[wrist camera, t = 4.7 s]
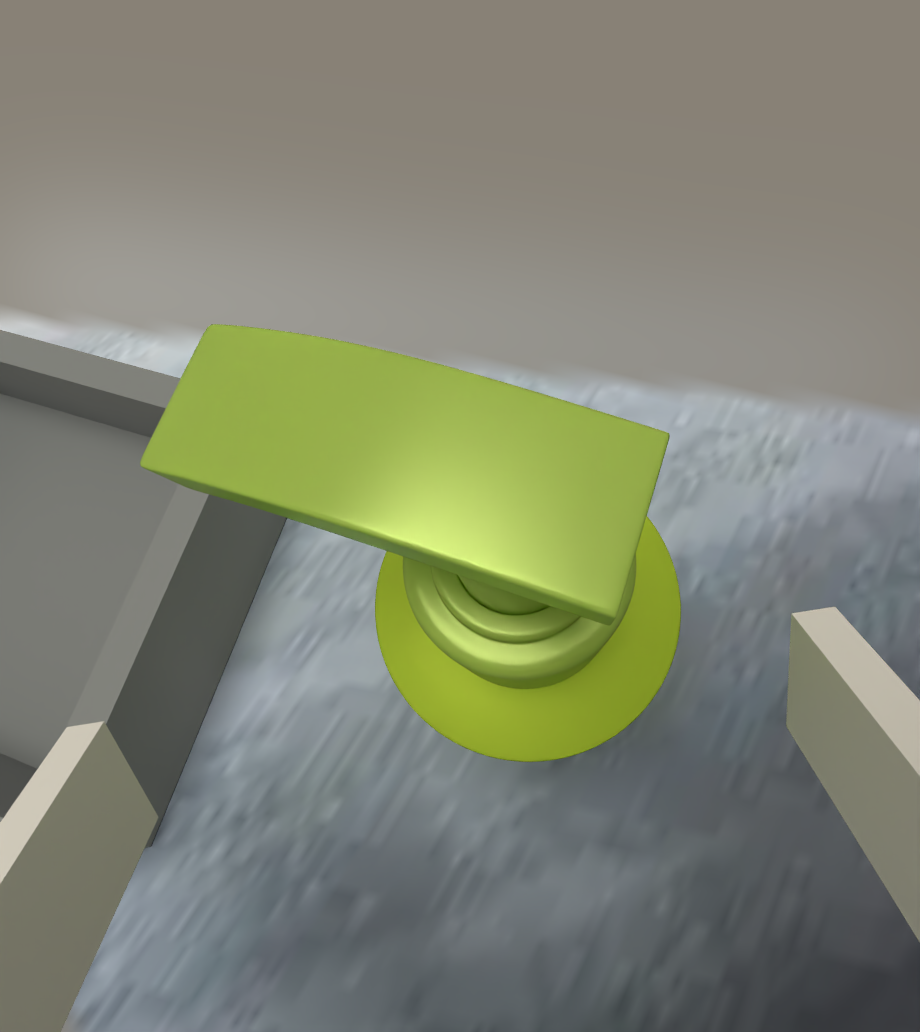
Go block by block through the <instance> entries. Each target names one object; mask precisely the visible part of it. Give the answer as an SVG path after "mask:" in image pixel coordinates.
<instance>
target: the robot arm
mask: <svg viewBox="0 0 920 1032" xmlns="http://www.w3.org/2000/svg"><path fill="white" fill-rule="evenodd" d="M786 726H787V728H788V730H789V731H790V733H791V735H792V736H793V738H794V739H795V741H796V743H797V744H798V746H799V747H800V749H801V751H802V752H803V754H804V756H805V757H806V759H807V760H808V762H809V764H810V765H811V767H812V769H813V770H814V772H815V773H816V775H817V777H818V778H819V780H820V782H821V783H822V785H823V786H824V788H825V790H826V791H827V793H828V794H829V796H830V798H831V799H832V801H833V803H834V804H835V806H836V807H837V809H838V811H839V812H840V814H841V816H842V817H843V819H844V820H845V822H846V824H847V825H848V827H849V829H850V830H851V832H852V833H853V835H854V837H855V838H856V840H857V842H858V843H859V845H860V846H861V848H862V850H863V851H864V853H865V854H866V856H867V858H868V859H869V861H870V863H871V864H872V866H873V867H874V869H875V871H876V872H877V874H878V876H879V877H880V879H881V880H882V882H883V884H884V885H885V887H886V889H887V890H888V892H889V893H890V895H891V897H892V898H893V900H894V901H895V903H896V905H897V906H898V908H899V910H900V911H901V913H902V914H903V916H904V918H905V919H906V921H907V923H908V924H909V926H910V927H911V929H912V931H913V932H914V934H915V936H916V937H917V939H918V940H919V942H920V700H919V699H918V698H917V697H916V696H915V695H914V694H913V693H912V692H911V690H910V689H909V688H908V687H907V686H906V685H905V684H904V683H903V682H902V680H901V679H900V678H899V677H898V676H897V675H896V674H895V673H894V672H893V670H892V669H891V668H890V667H889V666H888V665H887V664H886V663H885V662H884V661H883V659H882V658H881V657H880V656H879V655H878V654H877V653H876V652H875V651H874V649H873V648H872V647H871V646H870V645H869V644H868V643H867V642H866V641H865V639H864V638H863V637H862V636H861V635H860V634H859V633H858V632H857V631H856V630H855V628H854V627H853V626H852V625H851V624H850V623H849V622H848V621H847V620H846V618H845V617H844V616H843V615H842V614H841V613H840V612H839V611H838V610H837V608H836V607H830V608H823V609H817V610H811V611H804V612H798V613H792V614H791V635H790V656H789V678H788V699H787V720H786ZM157 819H158V815H157V814H156V812H155V810H154V808H153V807H152V805H151V803H150V801H149V800H148V798H147V796H146V794H145V792H144V791H143V789H142V787H141V785H140V784H139V782H138V780H137V778H136V777H135V775H134V773H133V771H132V770H131V768H130V766H129V764H128V763H127V761H126V759H125V757H124V756H123V754H122V752H121V750H120V749H119V747H118V745H117V743H116V741H115V740H114V738H113V736H112V734H111V733H110V731H109V729H108V727H107V726H106V724H105V722H104V721H103V722H96V723H90V724H83V725H77V726H71V727H67V728H66V729H65V731H64V732H63V733H62V735H61V736H60V738H59V739H58V741H57V742H56V743H55V745H54V746H53V748H52V749H51V751H50V752H49V753H48V755H47V756H46V758H45V759H44V761H43V762H42V763H41V765H40V766H39V768H38V769H37V771H36V772H35V773H34V775H33V776H32V778H31V779H30V781H29V782H28V783H27V785H26V786H25V788H24V789H23V791H22V792H21V794H20V795H19V796H18V798H17V799H16V801H15V802H14V804H13V805H12V806H11V808H10V809H9V811H8V812H7V814H6V815H5V816H4V818H3V819H2V821H1V822H0V1032H61V1030H62V1028H63V1025H64V1023H65V1021H66V1019H67V1017H68V1015H69V1012H70V1010H71V1008H72V1006H73V1004H74V1001H75V999H76V997H77V995H78V993H79V990H80V988H81V986H82V984H83V982H84V979H85V977H86V975H87V973H88V971H89V968H90V966H91V964H92V962H93V960H94V958H95V955H96V953H97V951H98V949H99V947H100V944H101V942H102V940H103V938H104V936H105V933H106V931H107V929H108V927H109V925H110V922H111V920H112V918H113V916H114V914H115V911H116V909H117V907H118V905H119V903H120V901H121V898H122V896H123V894H124V892H125V890H126V887H127V885H128V883H129V881H130V879H131V876H132V874H133V872H134V870H135V868H136V865H137V863H138V861H139V859H140V857H141V855H142V852H143V850H144V848H145V846H146V844H147V841H148V839H149V837H150V835H151V833H152V830H153V828H154V826H155V824H156V822H157Z"/></svg>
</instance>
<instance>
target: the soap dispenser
mask: <svg viewBox="0 0 920 1032" xmlns="http://www.w3.org/2000/svg"><path fill="white" fill-rule="evenodd" d="M669 436H670V435H669V433H667V432H664V431H661V430H658V429H655V428H651V427H648V426H645V425H642V424H639V423H635V422H632V421H629V420H626V419H623V418H619V417H616V416H613V415H610V414H606V413H603V412H600V411H597V410H594V409H590V408H587V407H584V406H580V405H577V404H574V403H571V402H567V401H564V400H561V399H558V398H554V397H551V396H548V395H544V394H541V393H538V392H534V391H531V390H528V389H524V388H521V387H518V386H514V385H511V384H507V383H504V382H501V381H497V380H494V379H490V378H487V377H483V376H480V375H476V374H473V373H469V372H466V371H462V370H459V369H455V368H452V367H448V366H444V365H441V364H437V363H433V362H429V361H425V360H422V359H418V358H414V357H410V356H406V355H402V354H398V353H394V352H390V351H385V350H381V349H377V348H372V347H368V346H363V345H359V344H354V343H349V342H344V341H339V340H334V339H329V338H323V337H317V336H311V335H305V334H299V333H292V332H285V331H278V330H270V329H262V328H253V327H244V326H234V325H218V324H217V325H216V324H214V325H213V324H212V325H210V326H209V327H208V328H207V329H206V331H205V332H204V334H203V336H202V338H201V340H200V342H199V344H198V346H197V348H196V349H195V351H194V353H193V355H192V357H191V359H190V361H189V363H188V365H187V367H186V369H185V371H184V373H183V375H182V377H181V379H180V381H179V383H178V385H177V387H176V389H175V391H174V393H173V395H172V397H171V399H170V401H169V403H168V405H167V407H166V409H165V411H164V413H163V415H162V417H161V419H160V421H159V423H158V425H157V427H156V429H155V431H154V433H153V435H152V437H151V439H150V441H149V443H148V445H147V447H146V449H145V452H144V454H143V456H142V458H141V461H140V465H141V467H143V468H145V469H147V470H149V471H151V472H153V473H155V474H158V475H160V476H162V477H164V478H167V479H169V480H171V481H173V482H175V483H178V484H180V485H182V486H184V487H187V488H189V489H192V490H195V491H199V492H202V493H206V494H209V495H213V496H216V497H220V498H223V499H227V500H231V501H234V502H237V503H241V504H244V505H247V506H251V507H254V508H257V509H260V510H264V511H267V512H270V513H273V514H276V515H279V516H283V517H286V518H289V519H292V520H295V521H298V522H301V523H304V524H307V525H310V526H314V527H317V528H320V529H323V530H326V531H329V532H332V533H335V534H338V535H341V536H344V537H347V538H350V539H353V540H356V541H359V542H362V543H365V544H368V545H371V546H374V547H377V548H380V549H383V550H386V551H387V552H386V554H385V557H384V560H383V563H382V566H381V569H380V573H379V578H378V582H377V589H376V599H375V619H376V629H377V635H378V640H379V645H380V649H381V652H382V655H383V658H384V661H385V664H386V666H387V669H388V671H389V673H390V675H391V677H392V679H393V681H394V683H395V685H396V686H397V688H398V690H399V691H400V693H401V694H402V696H403V697H404V698H405V700H406V701H407V702H408V704H409V705H410V706H411V707H412V708H413V710H414V711H415V712H416V713H417V714H418V715H419V716H420V717H421V718H422V719H423V720H424V721H425V722H426V723H428V724H429V725H430V726H431V727H432V728H434V729H435V730H436V731H438V732H439V733H440V734H442V735H443V736H445V737H446V738H448V739H450V740H451V741H453V742H455V743H457V744H458V745H460V746H462V747H465V748H467V749H469V750H472V751H474V752H477V753H480V754H483V755H486V756H489V757H493V758H498V759H503V760H510V761H520V762H539V761H549V760H556V759H561V758H565V757H569V756H573V755H576V754H579V753H582V752H585V751H587V750H590V749H592V748H594V747H596V746H598V745H600V744H602V743H604V742H606V741H607V740H609V739H611V738H612V737H614V736H615V735H617V734H618V733H619V732H621V731H622V730H623V729H625V728H626V727H627V726H628V725H629V724H631V723H632V722H633V721H634V720H635V719H636V718H637V717H638V716H639V715H640V714H641V713H642V712H643V710H644V709H645V708H646V707H647V706H648V704H649V703H650V702H651V701H652V699H653V698H654V696H655V695H656V693H657V692H658V690H659V689H660V687H661V685H662V683H663V681H664V680H665V678H666V675H667V673H668V671H669V669H670V666H671V664H672V661H673V658H674V655H675V651H676V647H677V643H678V638H679V631H680V621H681V602H680V592H679V586H678V580H677V576H676V572H675V569H674V565H673V562H672V560H671V557H670V554H669V552H668V550H667V548H666V545H665V543H664V542H663V540H662V538H661V536H660V534H659V533H658V531H657V530H656V528H655V526H654V525H653V524H652V522H651V521H650V520H649V518H648V517H647V513H648V509H649V506H650V502H651V499H652V495H653V492H654V489H655V485H656V482H657V478H658V475H659V472H660V468H661V465H662V461H663V458H664V455H665V451H666V448H667V444H668V441H669Z"/></svg>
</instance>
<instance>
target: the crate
mask: <svg viewBox="0 0 920 1032" xmlns="http://www.w3.org/2000/svg"><path fill="white" fill-rule="evenodd" d="M179 381H180V378H176V377H173V376H169V375H165V374H162V373H158V372H154V371H150V370H147V369H143V368H139V367H136V366H132V365H128V364H124V363H121V362H117V361H113V360H110V359H106V358H102V357H99V356H95V355H91V354H87V353H84V352H80V351H76V350H73V349H69V348H65V347H62V346H58V345H54V344H50V343H47V342H43V341H39V340H36V339H32V338H28V337H24V336H21V335H17V334H13V333H10V332H6V331H2V330H0V822H1V821H2V819H3V818H4V816H5V815H6V814H7V812H8V811H9V809H10V808H11V806H12V805H13V804H14V802H15V801H16V799H17V798H18V796H19V795H20V794H21V792H22V791H23V789H24V788H25V786H26V785H27V783H28V782H29V781H30V779H31V778H32V776H33V775H34V773H35V772H36V771H37V769H38V768H39V766H40V765H41V763H42V762H43V761H44V759H45V758H46V756H47V755H48V753H49V752H50V751H51V749H52V748H53V746H54V745H55V743H56V742H57V741H58V739H59V738H60V736H61V735H62V733H63V732H64V731H65V729H66V728H67V727H71V726H77V725H83V724H90V723H96V722H103V721H104V722H105V724H106V726H107V727H108V729H109V731H110V733H111V734H112V736H113V738H114V740H115V741H116V743H117V745H118V747H119V749H120V750H121V752H122V754H123V756H124V757H125V759H126V761H127V763H128V764H129V766H130V768H131V770H132V771H133V773H134V775H135V777H136V778H137V780H138V782H139V784H140V785H141V787H142V789H143V791H144V792H145V794H146V796H147V798H148V800H149V801H150V803H151V805H152V807H153V808H154V810H155V812H156V814H157V815H158V819H157V822H156V824H155V826H154V828H153V830H152V833H151V835H150V837H149V839H148V841H147V844H146V846H145V848H147V847H150V846H151V845H152V842H153V840H154V837H155V835H156V833H157V830H158V828H159V825H160V823H161V821H162V818H163V816H164V813H165V811H166V808H167V806H168V804H169V801H170V799H171V796H172V794H173V791H174V789H175V787H176V784H177V782H178V779H179V777H180V775H181V772H182V770H183V767H184V765H185V762H186V760H187V758H188V755H189V753H190V750H191V748H192V746H193V743H194V741H195V738H196V736H197V733H198V731H199V729H200V726H201V724H202V721H203V719H204V716H205V714H206V712H207V709H208V707H209V704H210V702H211V700H212V697H213V695H214V692H215V690H216V687H217V685H218V683H219V680H220V678H221V675H222V673H223V671H224V668H225V666H226V663H227V661H228V658H229V656H230V654H231V651H232V649H233V646H234V644H235V642H236V639H237V637H238V634H239V632H240V629H241V627H242V625H243V622H244V620H245V617H246V615H247V612H248V610H249V608H250V605H251V603H252V600H253V598H254V596H255V593H256V591H257V588H258V586H259V583H260V581H261V579H262V576H263V574H264V571H265V569H266V567H267V564H268V562H269V559H270V557H271V554H272V552H273V550H274V547H275V545H276V542H277V540H278V538H279V535H280V533H281V530H282V528H283V525H284V523H285V521H286V517H283V516H279V515H276V514H273V513H270V512H267V511H264V510H260V509H257V508H254V507H251V506H247V505H244V504H241V503H237V502H234V501H231V500H227V499H223V498H220V497H216V496H213V495H209V494H206V493H202V492H199V491H195V490H192V489H189V488H187V487H184V486H182V485H180V484H178V483H175V482H173V481H171V480H169V479H167V478H164V477H162V476H160V475H158V474H155V473H153V472H151V471H149V470H147V469H145V468H143V467H141V465H140V461H141V458H142V456H143V454H144V452H145V449H146V447H147V445H148V443H149V441H150V439H151V437H152V435H153V433H154V431H155V429H156V427H157V425H158V423H159V421H160V419H161V417H162V415H163V413H164V411H165V409H166V407H167V405H168V403H169V401H170V399H171V397H172V395H173V393H174V391H175V389H176V387H177V385H178V383H179Z"/></svg>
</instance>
